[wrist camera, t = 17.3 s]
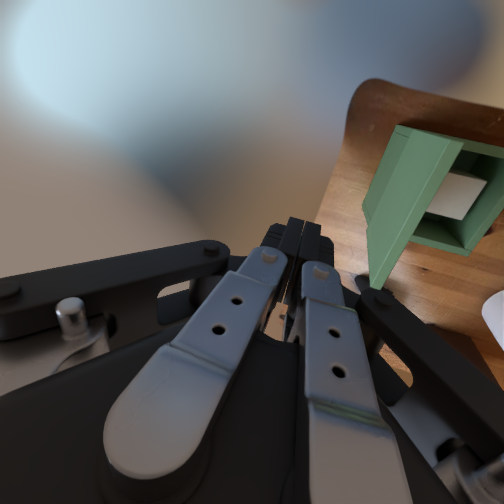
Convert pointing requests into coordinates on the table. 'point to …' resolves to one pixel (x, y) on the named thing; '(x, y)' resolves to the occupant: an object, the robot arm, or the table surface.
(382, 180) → the chest
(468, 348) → the stand
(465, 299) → the table surface
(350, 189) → the table surface
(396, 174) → the lid
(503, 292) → the cup
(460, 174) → the block
